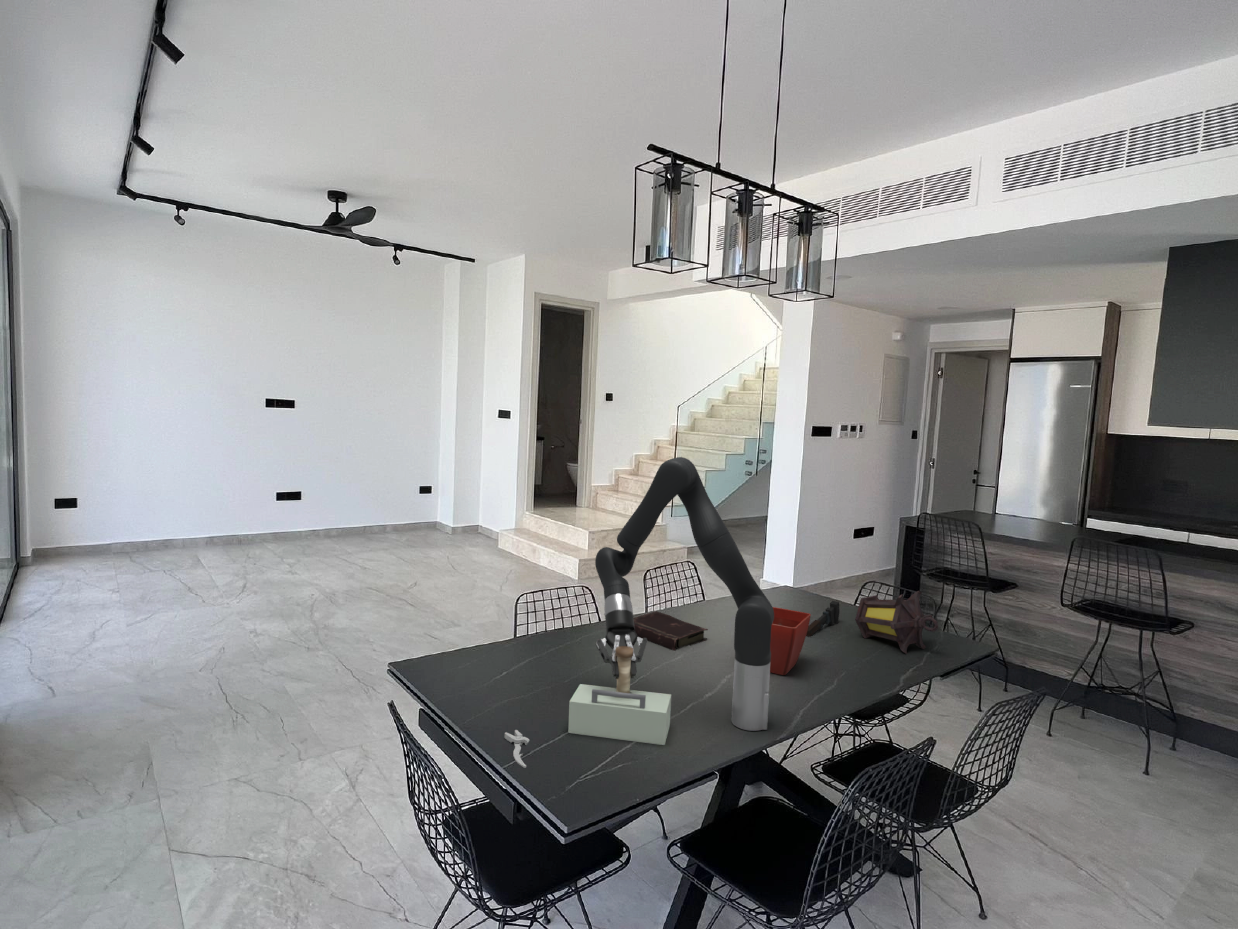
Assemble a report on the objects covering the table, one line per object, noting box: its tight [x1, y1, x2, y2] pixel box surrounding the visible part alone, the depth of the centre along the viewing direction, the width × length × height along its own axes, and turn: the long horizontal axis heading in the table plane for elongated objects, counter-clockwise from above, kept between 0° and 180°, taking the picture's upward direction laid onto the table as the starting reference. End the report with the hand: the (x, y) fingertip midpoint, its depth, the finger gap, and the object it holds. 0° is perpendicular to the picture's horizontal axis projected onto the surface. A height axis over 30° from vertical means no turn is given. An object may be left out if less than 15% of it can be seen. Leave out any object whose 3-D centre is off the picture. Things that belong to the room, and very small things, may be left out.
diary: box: [633, 611, 708, 651], centre depth 249 cm, size 19×25×5 cm
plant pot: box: [770, 606, 812, 676], centre depth 223 cm, size 19×19×17 cm
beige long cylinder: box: [615, 646, 634, 699], centre depth 175 cm, size 4×4×19 cm
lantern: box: [855, 590, 939, 655], centre depth 248 cm, size 22×23×30 cm
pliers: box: [503, 729, 530, 769], centre depth 165 cm, size 10×2×15 cm
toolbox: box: [567, 683, 672, 746], centre depth 174 cm, size 24×11×12 cm, turn 79°
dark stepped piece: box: [806, 600, 840, 638], centre depth 264 cm, size 8×3×25 cm
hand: (625, 677), depth 173 cm, fingers closed on beige long cylinder, 3 cm apart
